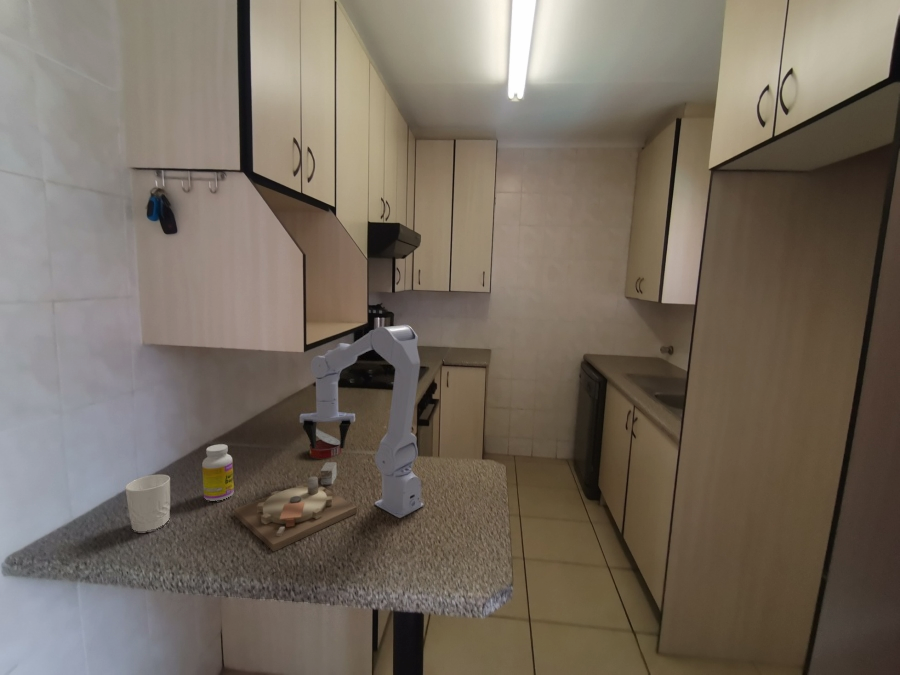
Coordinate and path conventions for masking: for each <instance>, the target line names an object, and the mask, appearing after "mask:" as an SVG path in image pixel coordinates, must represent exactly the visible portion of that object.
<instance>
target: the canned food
mask: <svg viewBox="0 0 900 675" xmlns="http://www.w3.org/2000/svg"><path fill="white" fill-rule="evenodd" d="M316 438H318V440H317V439H316V442H317V443H316V447H315V449H312V446H311V443H310V444H309V457H311V458H313V459H319V460H321V459H322V460H323V459H331V458H335V457H338V456H339V455H341V454H342V448H340V440H339V439H338V438H337V437H334V436H333V435H329V433H325V432H323V431H322V430H320V429H318V428H317V427H316Z"/></svg>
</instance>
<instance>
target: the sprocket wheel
mask: <svg viewBox="0 0 900 675" xmlns="http://www.w3.org/2000/svg"><path fill="white" fill-rule="evenodd" d="M306 481H307V482H308V487H304V485H302V484H297V485H296V486H297V487H296V486H295V487H296V488H293V487H290V488H287V489H284V490H281V491H279V490H275V491H273V492H270V496H271V497H269V498H268V499H267V500H266V501H265V502H262V503H258V505H257V513H258V512H263V515H262V516H261V522H262V523H264V524H268V523H270V522H273V523H278V524H286V527H290V526H294V525H295V523H297V522H302V521H305V520H308V519H311V518H315V519H318V518H320V517H321V516H322V511H323V510H324V509H325V508H326V506H330V505H332V496H327V495H326V489H327V488H326V487H324V486H322V487H319V488H318V484H319V478H318V476H310V477H308V478H307V480H306Z"/></svg>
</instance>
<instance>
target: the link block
mask: <svg viewBox="0 0 900 675" xmlns="http://www.w3.org/2000/svg"><path fill="white" fill-rule="evenodd" d="M337 467H338V466H337V462H336V461H333V462H332V461H330V462H327V461H326V462H325V463H324V464H323V466H322V468H321V469H320V485H321V486H323V485H328V486H329V485H333V484H334V482H335V480H336V478H337V475H338V474H337V472H338V471H337Z"/></svg>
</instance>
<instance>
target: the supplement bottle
mask: <svg viewBox="0 0 900 675" xmlns="http://www.w3.org/2000/svg"><path fill="white" fill-rule="evenodd" d="M228 449H229V448H228V445H227V444H223V443H221V444H213V445H210V446H208V447H207V448H206V450H205V453H206V456H207V457H205V458H204V459H203V460H202V463H201V464H202V466H201V467H202V468H201V469H202V480H203V481H202V483H203V484H202V485H203V487H202V489H203V499H204V498H205V499H206V500H210V501H215V500H216V501H217V500H222V501H224V500H223V499H225V500H227V499H229V498H231V497H232V496H233V495H234V492H235V491H234V490H235V485H234V466H233V465H234V464H233V463H234V461H233V457H232V455H230V454H228V451H229V450H228ZM230 496H231V497H230ZM228 497H229V498H228ZM226 498H227V499H226ZM205 499H204V500H205ZM206 500H205V501H206ZM217 502H218V501H217Z"/></svg>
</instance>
